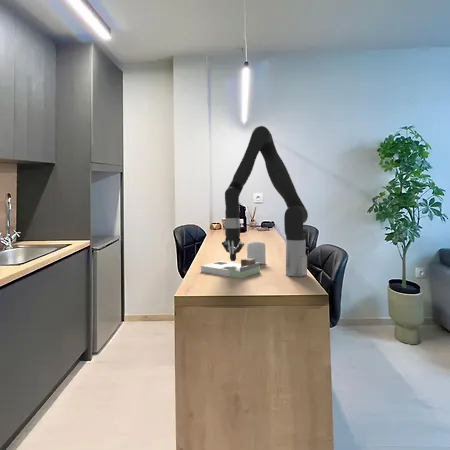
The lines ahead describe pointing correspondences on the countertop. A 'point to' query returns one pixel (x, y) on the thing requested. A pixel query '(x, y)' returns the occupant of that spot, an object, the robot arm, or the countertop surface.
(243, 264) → the walnut block
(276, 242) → the countertop surface
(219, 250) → the countertop surface
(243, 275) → the box
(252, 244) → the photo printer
